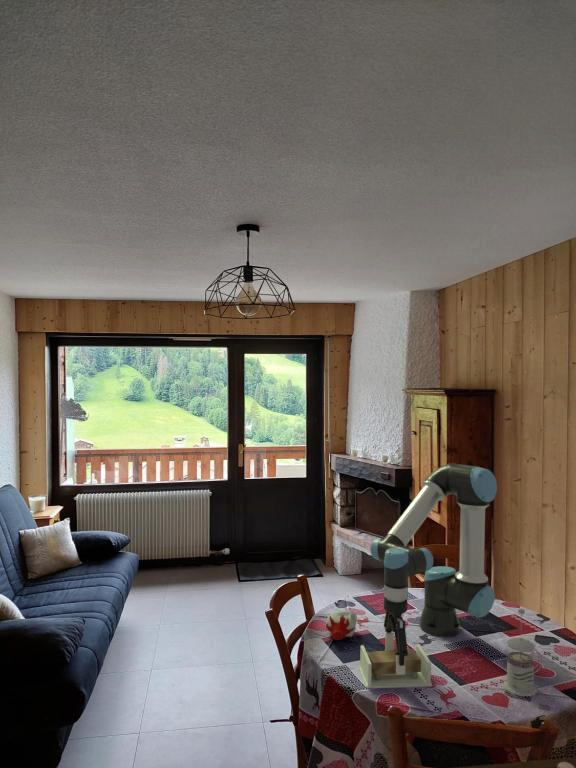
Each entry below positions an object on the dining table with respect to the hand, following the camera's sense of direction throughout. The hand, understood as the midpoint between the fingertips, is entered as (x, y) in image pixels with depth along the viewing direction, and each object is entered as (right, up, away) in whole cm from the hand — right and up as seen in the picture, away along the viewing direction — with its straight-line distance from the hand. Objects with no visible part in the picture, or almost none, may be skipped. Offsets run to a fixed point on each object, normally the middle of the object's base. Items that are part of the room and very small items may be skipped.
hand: (394, 662), depth 179 cm
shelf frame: (0, -5, 0) cm, 5 cm away
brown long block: (-1, -2, 0) cm, 2 cm away
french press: (+39, -5, -5) cm, 40 cm away
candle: (-15, -4, +27) cm, 31 cm away
